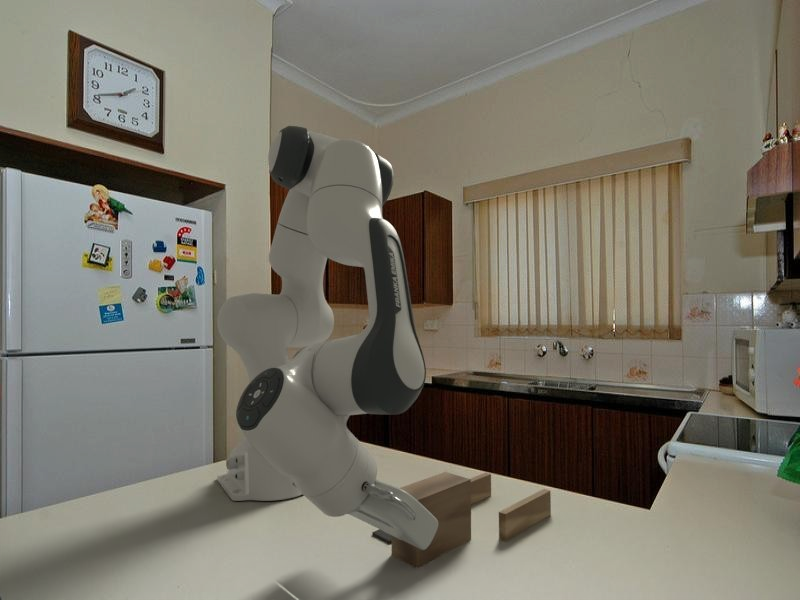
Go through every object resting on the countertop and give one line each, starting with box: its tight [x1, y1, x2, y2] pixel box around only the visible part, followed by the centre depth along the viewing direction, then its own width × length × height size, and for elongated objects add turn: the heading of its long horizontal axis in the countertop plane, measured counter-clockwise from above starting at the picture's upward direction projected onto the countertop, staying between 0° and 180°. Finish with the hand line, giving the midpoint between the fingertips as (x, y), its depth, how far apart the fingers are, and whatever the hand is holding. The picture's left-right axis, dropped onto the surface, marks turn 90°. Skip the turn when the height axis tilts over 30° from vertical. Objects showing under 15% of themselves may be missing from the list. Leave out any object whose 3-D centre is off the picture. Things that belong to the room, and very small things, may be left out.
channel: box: [470, 472, 552, 542], centre depth 78 cm, size 13×14×4 cm
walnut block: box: [391, 471, 472, 569], centre depth 67 cm, size 5×12×9 cm, turn 134°
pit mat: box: [371, 529, 392, 545], centre depth 71 cm, size 4×6×1 cm, turn 134°
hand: (397, 531), depth 62 cm, fingers closed
